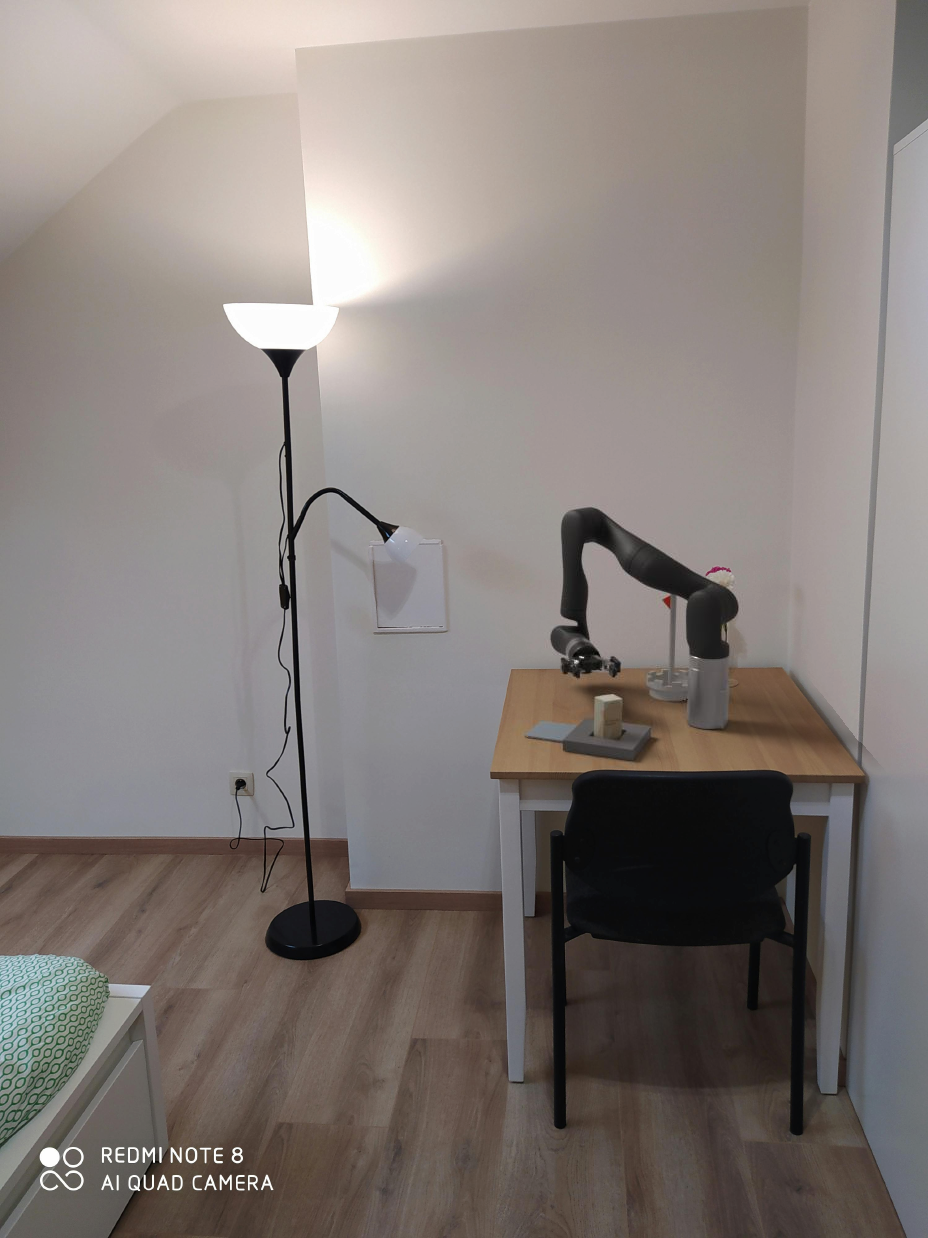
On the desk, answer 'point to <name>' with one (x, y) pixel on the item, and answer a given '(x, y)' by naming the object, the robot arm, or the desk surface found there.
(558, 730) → the pad
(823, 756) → the desk surface
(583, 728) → the socket block
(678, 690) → the flag stand
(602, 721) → the box
